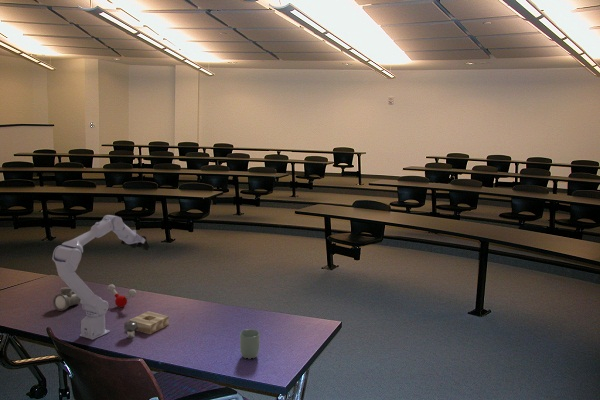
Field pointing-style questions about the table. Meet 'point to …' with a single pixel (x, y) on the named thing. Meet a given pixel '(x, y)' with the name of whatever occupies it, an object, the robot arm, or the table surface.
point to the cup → (249, 343)
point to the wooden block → (151, 322)
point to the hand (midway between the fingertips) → (141, 247)
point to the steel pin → (130, 328)
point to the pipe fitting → (65, 299)
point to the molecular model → (121, 300)
